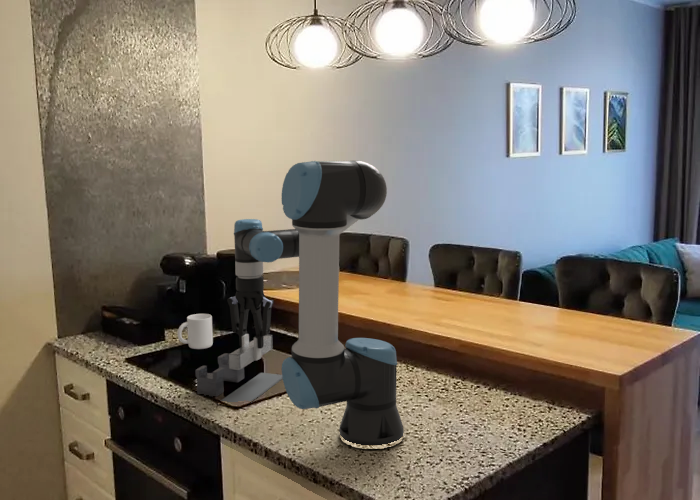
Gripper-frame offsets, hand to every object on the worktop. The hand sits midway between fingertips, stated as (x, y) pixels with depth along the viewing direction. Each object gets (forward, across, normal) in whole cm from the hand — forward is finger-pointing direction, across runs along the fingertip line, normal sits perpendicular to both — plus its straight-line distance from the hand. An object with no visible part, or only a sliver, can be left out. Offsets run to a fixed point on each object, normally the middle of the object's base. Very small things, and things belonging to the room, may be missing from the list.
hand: (251, 358), depth 192 cm
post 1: (+9, +10, +6) cm, 15 cm away
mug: (+10, +38, -31) cm, 50 cm away
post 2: (+9, +10, -6) cm, 15 cm away
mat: (+9, 0, 0) cm, 9 cm away
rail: (0, 0, 0) cm, 0 cm away
